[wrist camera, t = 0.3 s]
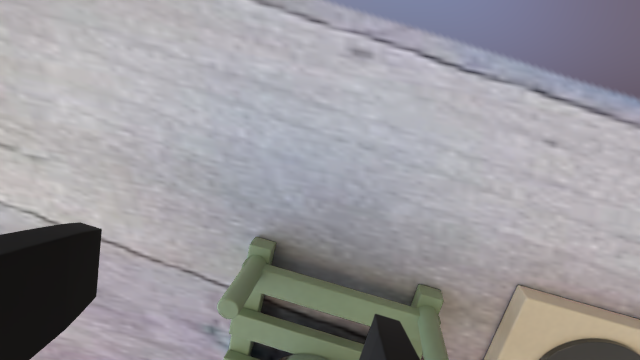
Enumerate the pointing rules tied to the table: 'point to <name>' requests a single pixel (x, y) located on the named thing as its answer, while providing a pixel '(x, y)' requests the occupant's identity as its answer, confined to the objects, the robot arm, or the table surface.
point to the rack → (322, 296)
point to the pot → (303, 357)
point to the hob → (562, 330)
